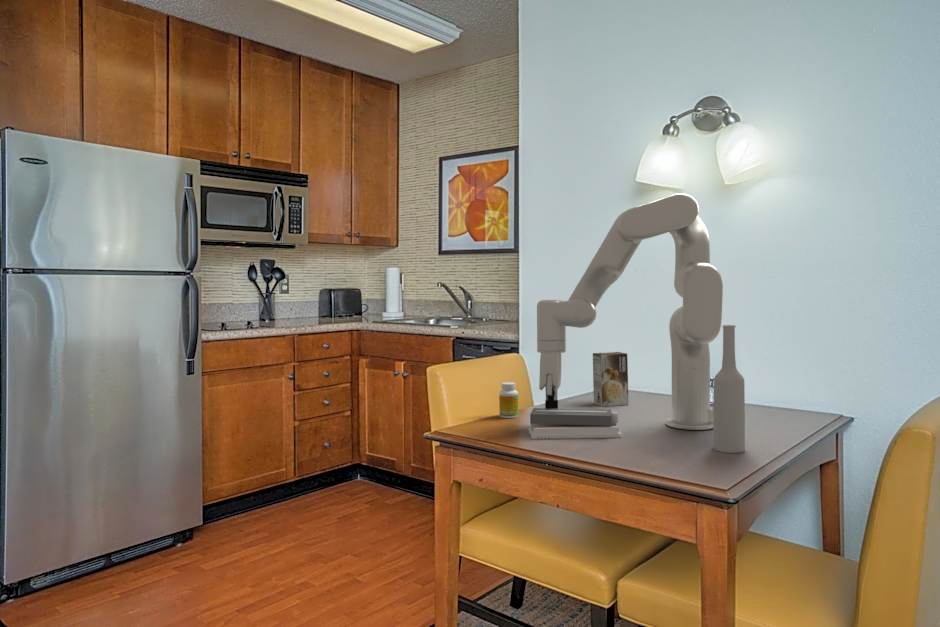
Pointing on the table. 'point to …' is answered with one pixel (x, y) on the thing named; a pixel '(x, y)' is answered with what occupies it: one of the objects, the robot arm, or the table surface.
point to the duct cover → (573, 416)
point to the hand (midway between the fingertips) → (551, 414)
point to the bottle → (729, 400)
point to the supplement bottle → (508, 400)
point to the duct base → (573, 431)
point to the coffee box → (610, 378)
